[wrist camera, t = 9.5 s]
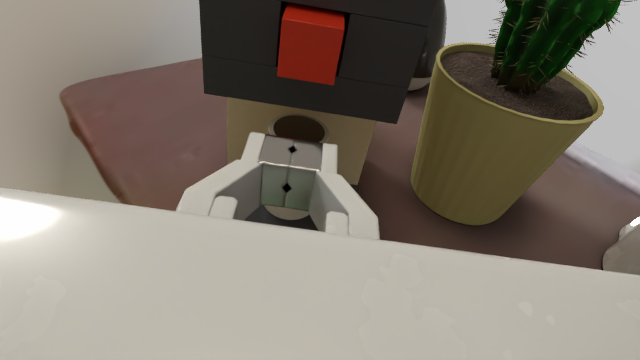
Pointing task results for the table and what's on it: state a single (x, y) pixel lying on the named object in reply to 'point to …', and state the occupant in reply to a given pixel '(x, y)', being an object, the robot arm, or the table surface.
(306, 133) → the coffee cup
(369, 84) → the coffee maker
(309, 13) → the power button
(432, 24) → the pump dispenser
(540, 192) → the table surface
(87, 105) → the table surface
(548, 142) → the potted cactus
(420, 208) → the table surface
